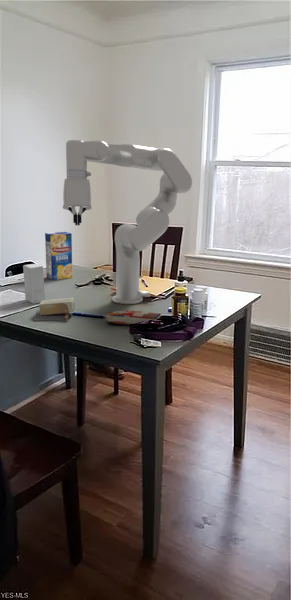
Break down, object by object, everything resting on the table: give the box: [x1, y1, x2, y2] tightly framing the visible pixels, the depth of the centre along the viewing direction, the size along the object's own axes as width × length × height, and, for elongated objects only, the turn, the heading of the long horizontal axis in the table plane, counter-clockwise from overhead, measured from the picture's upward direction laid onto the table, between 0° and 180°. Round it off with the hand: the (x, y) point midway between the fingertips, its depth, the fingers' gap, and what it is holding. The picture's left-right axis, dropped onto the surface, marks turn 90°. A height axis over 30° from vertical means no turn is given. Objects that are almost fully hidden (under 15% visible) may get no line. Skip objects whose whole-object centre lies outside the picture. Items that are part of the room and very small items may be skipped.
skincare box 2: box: [38, 297, 76, 315], centre depth 180 cm, size 6×4×12 cm
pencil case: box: [105, 310, 162, 326], centre depth 173 cm, size 11×20×5 cm, turn 74°
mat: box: [33, 309, 65, 322], centre depth 180 cm, size 11×12×1 cm
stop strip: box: [64, 313, 70, 323], centre depth 180 cm, size 1×14×2 cm, turn 6°
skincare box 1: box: [22, 263, 46, 305], centre depth 197 cm, size 8×6×15 cm
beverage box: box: [44, 231, 73, 281], centre depth 238 cm, size 7×11×22 cm, turn 123°
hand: (77, 224), depth 185 cm, fingers closed
